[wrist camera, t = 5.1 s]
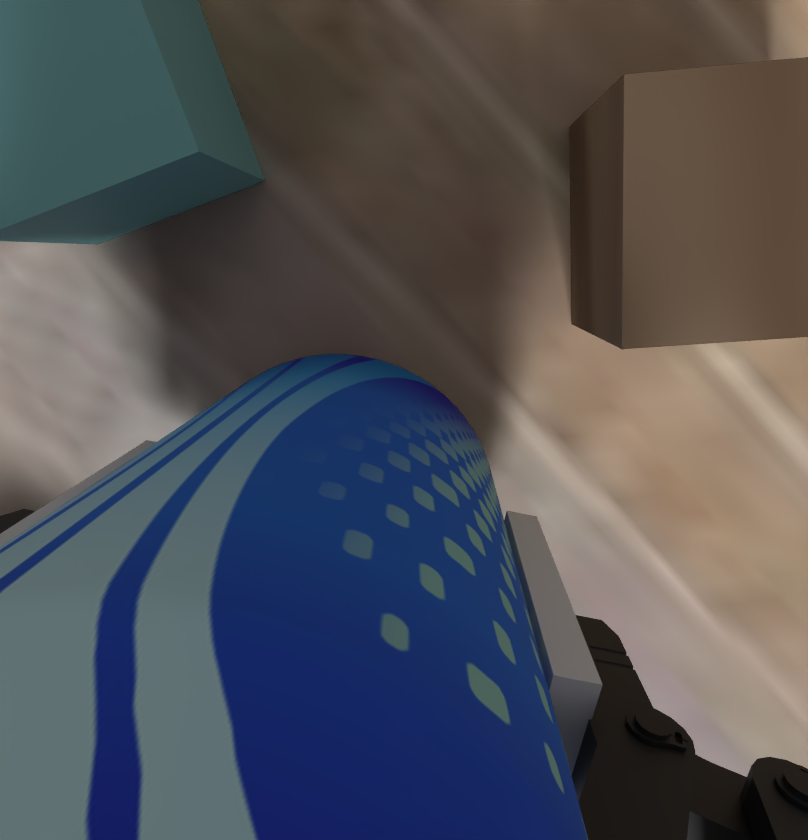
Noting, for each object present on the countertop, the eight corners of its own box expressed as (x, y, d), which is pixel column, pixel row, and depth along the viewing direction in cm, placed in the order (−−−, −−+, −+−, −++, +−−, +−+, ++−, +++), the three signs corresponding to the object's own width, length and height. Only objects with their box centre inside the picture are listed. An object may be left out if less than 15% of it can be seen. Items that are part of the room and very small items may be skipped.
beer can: (516, 586, 20) (830, 1833, 4) (255, 639, 20) (-306, 1835, 5) (454, 315, 18) (597, 722, 2) (168, 385, 19) (-1182, 1038, 3)
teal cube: (99, 244, 18) (-27, 240, 13) (16, 54, 17) (-155, -28, 12) (265, 180, 17) (199, 151, 12) (191, -21, 16) (85, -140, 11)
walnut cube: (570, 323, 18) (621, 348, 13) (568, 127, 17) (624, 73, 12) (758, 310, 17) (883, 331, 13) (770, 109, 16) (912, 47, 11)
